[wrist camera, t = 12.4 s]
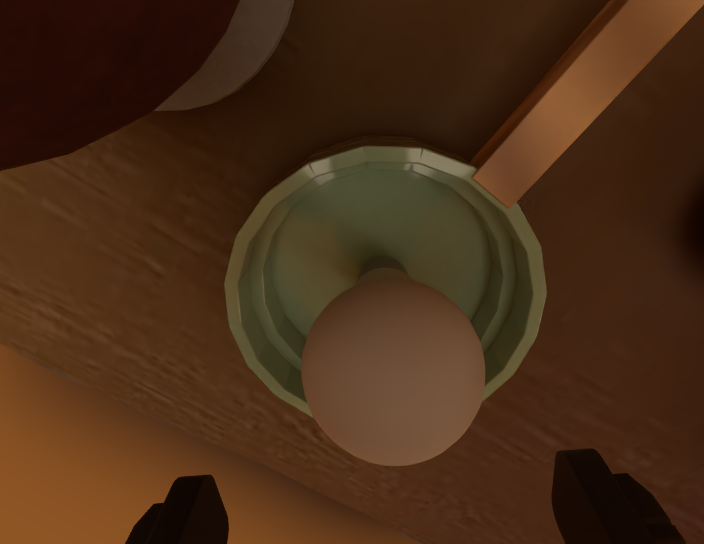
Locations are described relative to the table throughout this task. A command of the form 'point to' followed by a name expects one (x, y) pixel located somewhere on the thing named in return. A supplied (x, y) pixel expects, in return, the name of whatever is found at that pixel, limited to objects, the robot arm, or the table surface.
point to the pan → (380, 253)
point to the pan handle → (576, 92)
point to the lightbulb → (393, 368)
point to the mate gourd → (120, 64)
